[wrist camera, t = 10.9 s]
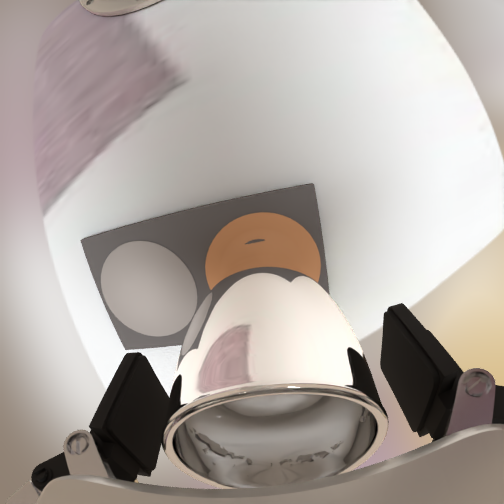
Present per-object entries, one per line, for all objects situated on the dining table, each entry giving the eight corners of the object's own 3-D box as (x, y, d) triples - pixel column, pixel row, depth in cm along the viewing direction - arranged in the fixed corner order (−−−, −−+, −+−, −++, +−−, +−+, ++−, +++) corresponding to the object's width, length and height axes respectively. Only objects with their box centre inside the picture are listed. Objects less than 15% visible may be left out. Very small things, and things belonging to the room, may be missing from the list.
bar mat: (84, 238, 20) (79, 240, 20) (312, 183, 19) (314, 184, 18) (127, 346, 24) (125, 350, 23) (329, 315, 22) (331, 319, 22)
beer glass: (215, 308, 21) (176, 489, 7) (213, 220, 19) (123, 366, 5) (303, 309, 21) (355, 485, 7) (312, 223, 19) (434, 362, 5)
